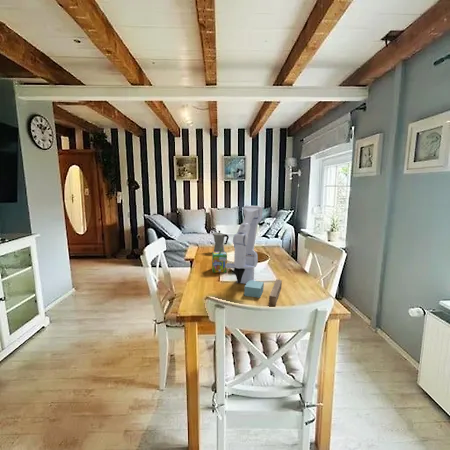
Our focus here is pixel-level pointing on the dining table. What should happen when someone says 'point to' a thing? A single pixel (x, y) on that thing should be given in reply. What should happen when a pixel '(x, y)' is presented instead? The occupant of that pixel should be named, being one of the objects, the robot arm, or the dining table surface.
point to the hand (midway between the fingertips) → (239, 282)
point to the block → (254, 288)
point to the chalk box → (219, 262)
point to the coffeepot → (219, 241)
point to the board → (275, 292)
